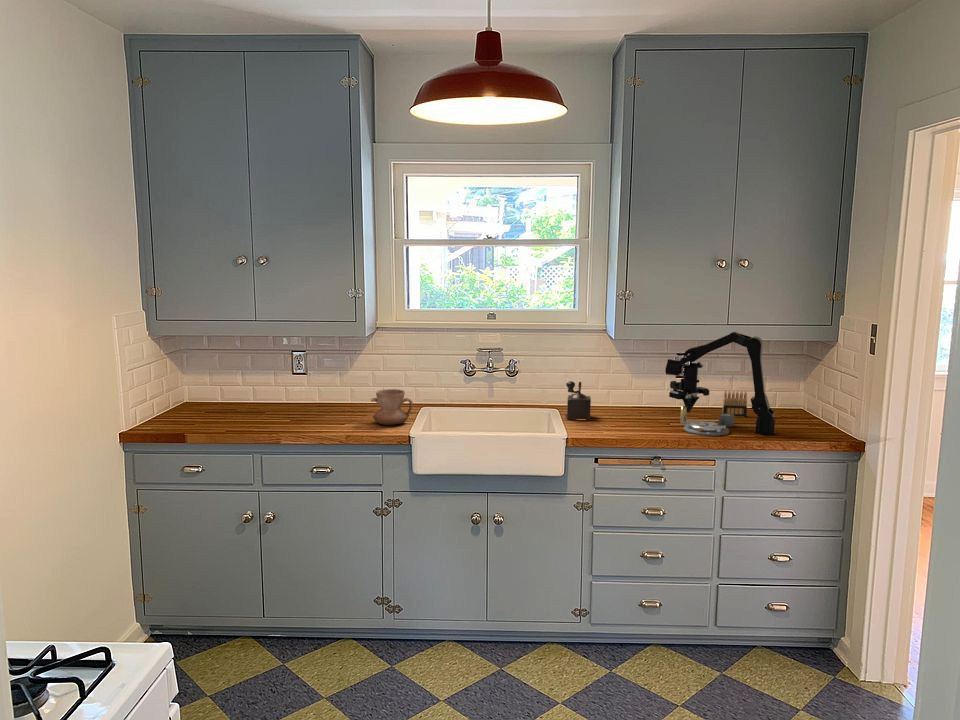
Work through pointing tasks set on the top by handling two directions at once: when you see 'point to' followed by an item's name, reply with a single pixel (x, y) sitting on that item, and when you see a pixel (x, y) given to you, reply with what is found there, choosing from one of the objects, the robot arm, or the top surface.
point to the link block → (726, 419)
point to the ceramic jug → (391, 407)
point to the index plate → (705, 433)
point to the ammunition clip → (735, 404)
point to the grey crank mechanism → (700, 423)
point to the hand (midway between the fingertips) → (688, 412)
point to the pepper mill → (577, 403)
